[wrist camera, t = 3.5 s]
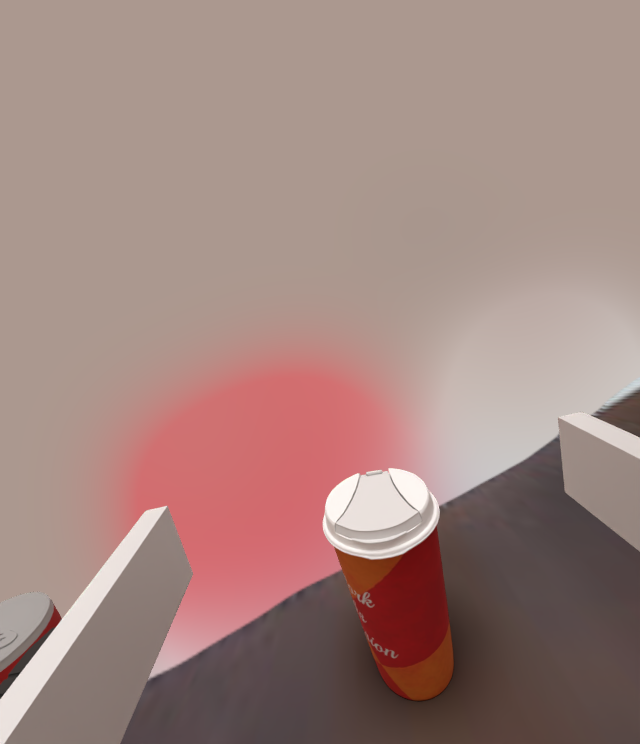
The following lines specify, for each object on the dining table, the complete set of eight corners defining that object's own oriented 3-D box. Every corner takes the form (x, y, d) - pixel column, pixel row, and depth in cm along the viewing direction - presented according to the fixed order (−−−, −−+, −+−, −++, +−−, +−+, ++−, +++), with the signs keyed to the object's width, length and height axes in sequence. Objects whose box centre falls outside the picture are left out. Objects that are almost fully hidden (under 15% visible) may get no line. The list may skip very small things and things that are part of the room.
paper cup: (363, 615, 31) (324, 473, 27) (455, 607, 29) (424, 456, 26) (363, 725, 23) (309, 547, 20) (486, 721, 22) (449, 529, 19)
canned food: (82, 798, 23) (7, 671, 21) (-52, 855, 22) (-148, 729, 20) (122, 679, 31) (71, 575, 28) (23, 717, 29) (-39, 613, 27)
